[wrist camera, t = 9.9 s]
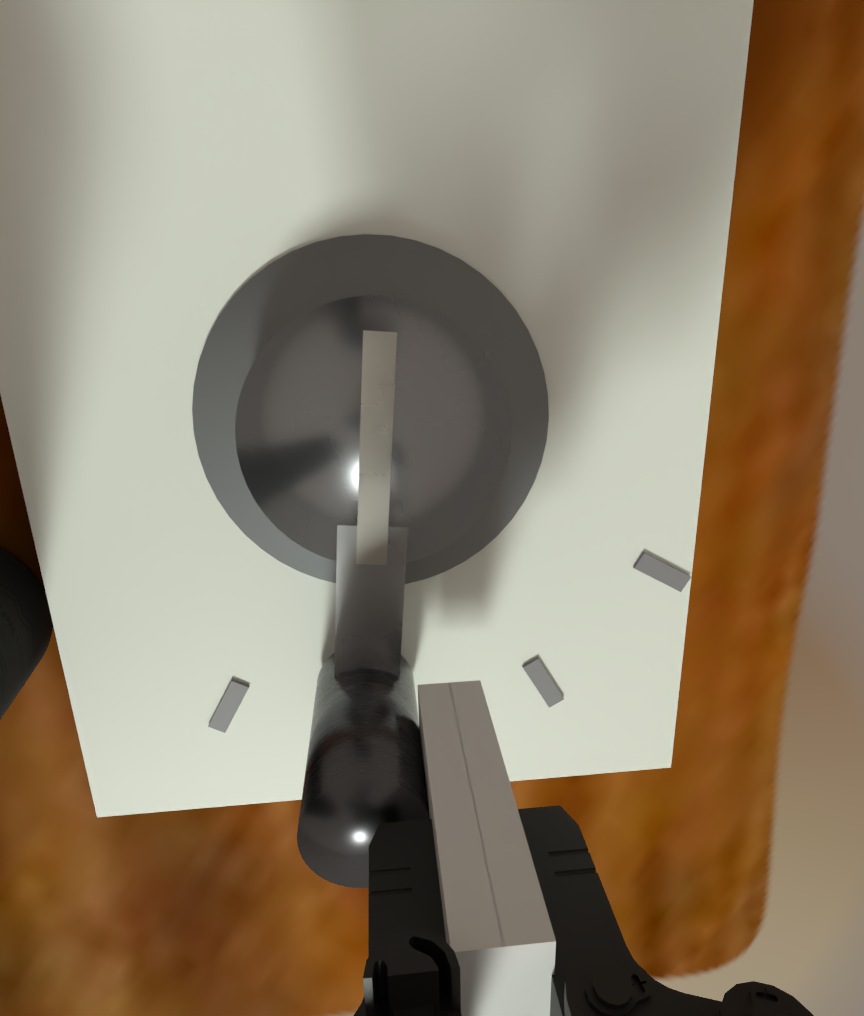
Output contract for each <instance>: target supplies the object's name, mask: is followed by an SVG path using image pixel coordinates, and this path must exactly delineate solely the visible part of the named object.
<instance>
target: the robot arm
mask: <svg viewBox="0 0 864 1016" xmlns="http://www.w3.org/2000/svg"><path fill="white" fill-rule="evenodd" d="M418 709H419V731H420V739H421V748H422V756H423V765H424V773H425V782H426V791H427V799H428V808H429V816H430V819H424V820H412V821H401V822H390V823H380V824H379V826H378V828H377V830H376V832H375V834H374V836H373V838H372V840H371V842H370V845H369V958H368V959H367V961H366V966H365V971H364V976H363V986H364V999H363V1001H362V1004H361V1005H360V1007H359V1008H358V1010H357V1011H356V1013H355V1014H354V1016H813V1015H812V1013H811V1012H809V1011H808V1010H807V1009H806V1008H805V1007H804V1006H803V1005H802V1004H801V1003H800V1002H798V1001H797V1000H796V999H795V998H794V997H793V996H791V995H789V994H787V993H785V992H784V991H782V990H780V989H778V988H776V987H775V986H772V985H767V984H763V983H758V982H754V981H753V982H747V983H741V984H736V985H735V986H734V987H733V988H731V989H730V990H729V991H727V992H726V993H725V995H724V998H723V1001H722V1002H721V1001H716V1000H712V999H707V998H703V997H699V996H694V995H690V994H685V993H682V992H679V991H676V990H673V989H670V988H668V987H666V986H664V985H663V984H661V983H659V982H657V981H655V980H654V979H653V978H652V977H651V976H649V975H648V974H647V972H646V971H645V970H644V969H643V968H641V967H640V966H639V965H638V964H637V963H636V961H635V960H634V959H633V957H632V956H631V954H630V952H629V950H628V948H627V946H626V944H625V941H624V939H623V936H622V934H621V931H620V929H619V926H618V924H617V921H616V919H615V916H614V914H613V911H612V909H611V906H610V903H609V901H608V898H607V896H606V893H605V891H604V888H603V886H602V883H601V881H600V878H599V876H598V873H596V870H595V866H594V863H593V861H592V858H591V856H590V853H588V848H587V846H586V843H585V840H584V838H583V835H582V833H581V830H580V828H579V825H578V824H577V823H576V822H575V821H574V820H573V819H572V818H571V817H570V816H569V815H568V814H567V813H566V811H565V810H564V809H563V808H562V807H561V806H549V807H538V808H527V809H517V805H516V802H515V798H514V795H513V791H512V788H511V784H510V781H509V778H508V774H507V771H506V767H505V764H504V760H503V757H502V753H501V750H500V747H499V743H498V740H497V736H496V733H495V729H494V726H493V722H492V719H491V716H490V712H489V709H488V705H487V702H486V698H485V695H484V691H483V688H482V685H481V681H480V680H476V681H462V682H449V683H435V684H422V685H418Z"/></svg>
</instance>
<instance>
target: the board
mask: <svg viewBox="0 0 864 1016" xmlns="http://www.w3.org/2000/svg"><path fill="white" fill-rule="evenodd" d="M753 2H754V0H0V394H1V399H2V403H3V408H4V412H5V416H6V421H7V425H8V429H9V434H10V438H11V443H12V447H13V451H14V456H15V460H16V465H17V469H18V473H19V478H20V482H21V486H22V491H23V495H24V500H25V504H26V508H27V513H28V517H29V521H30V526H31V530H32V535H33V539H34V543H35V548H36V552H37V556H38V561H39V565H40V570H41V574H42V578H43V583H44V587H45V591H46V596H47V600H48V605H49V609H50V613H51V618H52V622H53V626H54V631H55V635H56V640H57V644H58V648H59V653H60V657H61V661H62V666H63V670H64V675H65V679H66V683H67V688H68V692H69V696H70V701H71V705H72V710H73V714H74V718H75V723H76V727H77V731H78V736H79V740H80V745H81V749H82V753H83V758H84V762H85V766H86V771H87V775H88V780H89V784H90V788H91V793H92V797H93V801H94V806H95V810H96V815H97V817H106V816H117V815H129V814H140V813H152V812H163V811H175V810H186V809H198V808H209V807H221V806H232V805H244V804H255V803H267V802H278V801H290V800H301V799H302V794H303V786H304V779H305V771H306V763H307V756H308V748H309V740H310V733H311V725H312V717H313V710H314V702H315V694H316V687H317V679H318V675H319V672H320V670H321V668H322V666H323V664H324V663H325V661H326V660H327V659H328V658H329V657H330V656H331V655H332V654H333V653H335V613H336V564H337V562H336V561H333V560H330V559H327V558H324V557H321V556H319V555H317V554H315V553H313V552H311V551H309V550H307V549H305V548H303V547H302V546H300V545H299V544H297V543H295V542H294V541H292V540H291V539H290V538H288V537H287V536H286V535H285V534H284V533H282V532H281V531H280V530H279V529H278V528H277V527H276V526H275V525H274V524H273V523H272V522H271V521H270V520H269V519H268V518H267V517H266V515H265V514H264V513H263V511H262V510H261V508H260V507H259V506H258V504H257V503H256V501H255V500H254V498H253V496H252V494H251V492H250V490H249V488H248V487H247V484H246V482H245V479H244V476H243V474H242V471H241V468H240V464H239V459H238V455H237V449H236V439H235V422H236V411H237V406H238V400H239V396H240V393H241V390H242V387H243V384H244V381H245V379H246V376H247V374H248V372H249V370H250V368H251V366H252V364H253V363H254V361H255V360H256V358H257V357H258V355H259V354H260V352H261V351H262V349H263V348H264V347H265V346H266V344H267V343H268V342H269V341H270V340H271V339H272V338H273V337H274V336H275V335H276V334H277V333H278V332H279V331H280V330H281V329H283V328H284V327H285V326H286V325H287V324H289V323H290V322H291V321H293V320H294V319H296V318H297V317H299V316H301V315H302V314H304V313H305V312H307V311H309V310H312V309H314V308H316V307H318V306H321V305H323V304H326V303H329V302H333V301H336V300H340V299H343V298H350V297H358V296H387V297H394V298H401V299H405V300H408V301H412V302H415V303H419V304H421V305H424V306H426V307H428V308H431V309H433V310H435V311H437V312H439V313H441V314H442V315H444V316H446V317H447V318H449V319H451V320H452V321H454V322H455V323H456V324H457V325H459V326H460V327H461V328H462V329H464V330H465V331H466V332H467V333H468V334H469V335H470V336H471V337H472V338H473V339H474V340H475V341H476V342H477V343H478V344H479V345H480V347H481V348H482V349H483V351H484V352H485V353H486V355H487V356H488V358H489V359H490V360H491V362H492V364H493V366H494V368H495V370H496V371H497V373H498V375H499V377H500V380H501V382H502V385H503V388H504V390H505V393H506V397H507V401H508V406H509V410H510V419H511V447H510V453H509V459H508V464H507V467H506V470H505V474H504V477H503V480H502V482H501V484H500V487H499V489H498V491H497V493H496V495H495V497H494V498H493V500H492V502H491V503H490V505H489V507H488V508H487V510H486V511H485V512H484V513H483V515H482V516H481V517H480V518H479V520H478V521H477V522H476V523H475V524H474V525H473V526H472V527H471V528H470V529H469V530H468V531H467V532H466V533H465V534H464V535H462V536H461V537H460V538H458V539H457V540H456V541H454V542H453V543H452V544H450V545H448V546H447V547H445V548H443V549H441V550H440V551H438V552H436V553H434V554H431V555H429V556H427V557H424V558H422V559H419V560H415V561H412V562H408V563H406V569H405V588H404V606H403V624H402V642H401V655H402V656H403V657H404V658H405V659H406V661H407V662H408V664H409V666H410V668H411V670H412V673H413V678H414V685H415V694H416V702H417V710H418V719H419V709H418V685H422V684H435V683H449V682H462V681H476V680H480V681H481V685H482V688H483V691H484V695H485V698H486V702H487V705H488V709H489V712H490V716H491V719H492V722H493V726H494V729H495V733H496V736H497V740H498V743H499V747H500V750H501V753H502V757H503V760H504V764H505V767H506V771H507V774H508V778H509V781H520V780H531V779H543V778H555V777H566V776H578V775H589V774H601V773H612V772H624V771H635V770H647V769H658V768H670V767H671V761H672V752H673V743H674V733H675V724H676V715H677V706H678V696H679V687H680V678H681V669H682V659H683V650H684V641H685V632H686V622H687V613H688V604H689V595H690V585H691V576H692V567H693V558H694V548H695V539H696V530H697V521H698V511H699V502H700V493H701V484H702V474H703V465H704V456H705V447H706V437H707V428H708V419H709V410H710V400H711V391H712V382H713V372H714V363H715V354H716V345H717V335H718V326H719V317H720V308H721V298H722V289H723V280H724V271H725V261H726V252H727V243H728V234H729V224H730V215H731V206H732V197H733V187H734V178H735V169H736V160H737V150H738V141H739V132H740V123H741V113H742V104H743V95H744V86H745V76H746V67H747V58H748V49H749V39H750V30H751V21H752V12H753Z"/></svg>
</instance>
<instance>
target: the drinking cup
mask: <svg viewBox="0 0 864 1016" xmlns="http://www.w3.org/2000/svg"><path fill="white" fill-rule="evenodd" d="M51 627H52V621H51V613H50V609H49V605H48V600H47V598H46V595H45V593H44V591H43V589H42V587H41V585H40V584H39V582H38V581H37V579H36V578H35V576H34V575H33V574H32V573H31V571H30V570H29V569H28V568H27V567H26V566H25V565H24V564H23V563H22V562H21V561H19V560H18V559H17V558H16V557H14V556H13V555H12V554H10V553H9V552H7V551H6V550H4V549H3V548H1V547H0V719H1V718H2V716H3V715H4V713H5V712H6V710H7V709H8V707H9V706H10V704H11V703H12V701H13V700H14V699H15V697H16V696H17V694H18V693H19V691H20V690H21V688H22V687H23V685H24V684H25V682H26V681H27V679H28V678H29V676H30V675H31V673H32V672H33V670H34V669H35V667H36V666H37V665H38V663H39V662H40V660H41V658H42V657H43V655H44V653H45V651H46V649H47V647H48V644H49V641H50V636H51Z"/></svg>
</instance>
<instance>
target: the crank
mask: <svg viewBox="0 0 864 1016" xmlns="http://www.w3.org/2000/svg"><path fill="white" fill-rule="evenodd" d="M235 439H236V449H237V455H238V459H239V464H240V468H241V471H242V474H243V476H244V479H245V482H246V484H247V487H248V488H249V490H250V492H251V494H252V496H253V498H254V500H255V501H256V503H257V504H258V506H259V507H260V508H261V510H262V511H263V513H264V514H265V515H266V517H267V518H268V519H269V520H270V521H271V522H272V523H273V524H274V525H275V526H276V527H277V528H278V529H279V530H280V531H281V532H282V533H284V534H285V535H286V536H287V537H288V538H290V539H291V540H292V541H294V542H295V543H297V544H299V545H300V546H302V547H303V548H305V549H307V550H309V551H311V552H313V553H315V554H317V555H319V556H321V557H324V558H327V559H330V560H333V561H336V562H337V564H336V613H335V653H333V654H332V655H331V656H330V657H329V658H328V659H327V660H326V661H325V663H324V664H323V666H322V668H321V670H320V672H319V675H318V679H317V687H316V694H315V702H314V710H313V717H312V725H311V733H310V740H309V748H308V756H307V763H306V771H305V779H304V786H303V794H302V802H301V809H300V817H299V824H298V833H297V842H298V847H299V851H300V854H301V856H302V858H303V859H304V861H305V863H306V864H307V865H308V866H309V867H310V869H311V870H313V871H314V872H315V873H316V874H317V875H319V876H320V877H322V878H324V879H326V880H328V881H330V882H332V883H335V884H338V885H342V886H346V887H355V888H365V887H369V845H370V842H371V840H372V838H373V836H374V834H375V832H376V830H377V828H378V826H379V824H380V823H390V822H401V821H412V820H424V819H430V816H429V808H428V799H427V791H426V782H425V773H424V765H423V756H422V748H421V739H420V731H419V719H418V710H417V702H416V694H415V685H414V678H413V673H412V670H411V668H410V666H409V664H408V662H407V661H406V659H405V658H404V657H403V656H402V655H401V642H402V624H403V606H404V588H405V569H406V563H408V562H412V561H415V560H419V559H422V558H424V557H427V556H429V555H431V554H434V553H436V552H438V551H440V550H441V549H443V548H445V547H447V546H448V545H450V544H452V543H453V542H454V541H456V540H457V539H458V538H460V537H461V536H462V535H464V534H465V533H466V532H467V531H468V530H469V529H470V528H471V527H472V526H473V525H474V524H475V523H476V522H477V521H478V520H479V518H480V517H481V516H482V515H483V513H484V512H485V511H486V510H487V508H488V507H489V505H490V503H491V502H492V500H493V498H494V497H495V495H496V493H497V491H498V489H499V487H500V484H501V482H502V480H503V477H504V474H505V470H506V467H507V464H508V459H509V453H510V447H511V419H510V410H509V406H508V401H507V397H506V393H505V390H504V388H503V385H502V382H501V380H500V377H499V375H498V373H497V371H496V370H495V368H494V366H493V364H492V362H491V360H490V359H489V358H488V356H487V355H486V353H485V352H484V351H483V349H482V348H481V347H480V345H479V344H478V343H477V342H476V341H475V340H474V339H473V338H472V337H471V336H470V335H469V334H468V333H467V332H466V331H465V330H464V329H462V328H461V327H460V326H459V325H457V324H456V323H455V322H454V321H452V320H451V319H449V318H447V317H446V316H444V315H442V314H441V313H439V312H437V311H435V310H433V309H431V308H428V307H426V306H424V305H421V304H419V303H415V302H412V301H408V300H405V299H401V298H394V297H387V296H358V297H350V298H343V299H340V300H336V301H333V302H329V303H326V304H323V305H321V306H318V307H316V308H314V309H312V310H309V311H307V312H305V313H304V314H302V315H301V316H299V317H297V318H296V319H294V320H293V321H291V322H290V323H289V324H287V325H286V326H285V327H284V328H283V329H281V330H280V331H279V332H278V333H277V334H276V335H275V336H274V337H273V338H272V339H271V340H270V341H269V342H268V343H267V344H266V346H265V347H264V348H263V349H262V351H261V352H260V354H259V355H258V357H257V358H256V360H255V361H254V363H253V364H252V366H251V368H250V370H249V372H248V374H247V376H246V379H245V381H244V384H243V387H242V390H241V393H240V396H239V400H238V406H237V411H236V422H235Z"/></svg>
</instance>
